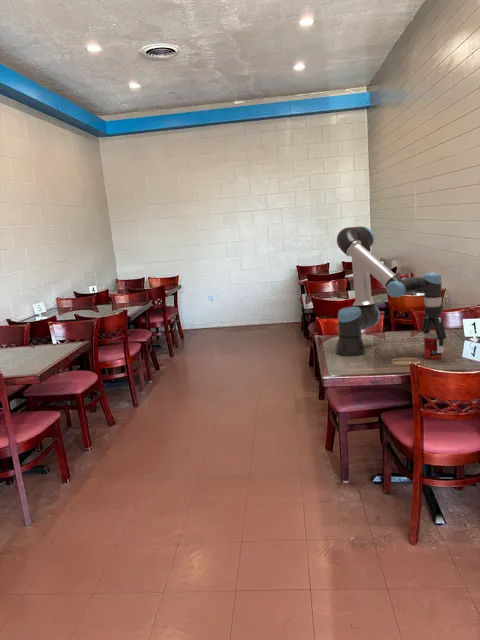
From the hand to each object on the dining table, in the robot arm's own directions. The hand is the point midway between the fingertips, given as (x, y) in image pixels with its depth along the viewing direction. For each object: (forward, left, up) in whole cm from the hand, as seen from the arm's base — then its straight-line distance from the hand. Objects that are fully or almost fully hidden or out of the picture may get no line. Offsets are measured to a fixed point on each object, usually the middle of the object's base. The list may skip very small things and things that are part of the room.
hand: (433, 349), depth 230 cm
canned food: (0, 0, -4) cm, 4 cm away
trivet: (+4, -15, -4) cm, 16 cm away
